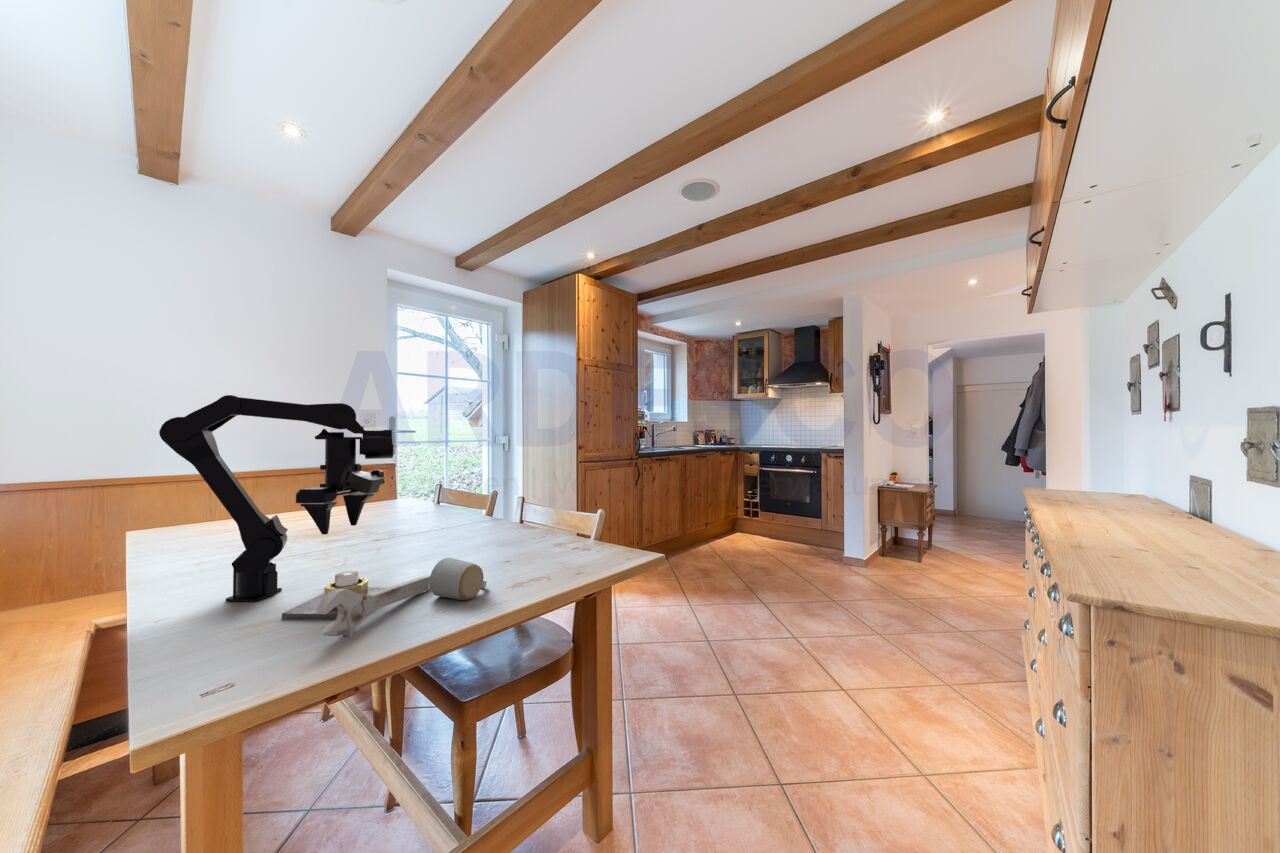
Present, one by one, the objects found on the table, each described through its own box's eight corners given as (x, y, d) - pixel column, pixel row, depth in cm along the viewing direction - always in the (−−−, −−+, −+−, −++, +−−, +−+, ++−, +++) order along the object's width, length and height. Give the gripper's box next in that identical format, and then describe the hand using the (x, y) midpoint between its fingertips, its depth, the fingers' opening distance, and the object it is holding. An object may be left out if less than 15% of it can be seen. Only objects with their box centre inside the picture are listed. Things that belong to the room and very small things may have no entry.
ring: (315, 601, 84) (315, 589, 84) (341, 589, 91) (341, 577, 91) (352, 602, 83) (352, 589, 84) (375, 589, 90) (375, 577, 91)
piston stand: (281, 619, 80) (282, 585, 80) (336, 591, 94) (336, 563, 94) (358, 619, 80) (358, 586, 80) (401, 592, 94) (402, 563, 94)
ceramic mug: (461, 606, 86) (461, 566, 86) (427, 601, 89) (428, 562, 89) (496, 589, 96) (496, 553, 96) (465, 585, 99) (466, 550, 99)
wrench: (435, 600, 97) (322, 649, 68) (427, 600, 98) (311, 649, 68) (438, 562, 98) (328, 594, 69) (430, 562, 99) (317, 594, 69)
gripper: (347, 462, 90) (347, 539, 90) (399, 457, 109) (399, 521, 109) (293, 462, 91) (292, 539, 90) (354, 457, 109) (354, 521, 109)
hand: (339, 529), depth 100 cm, fingers open, 9 cm apart
